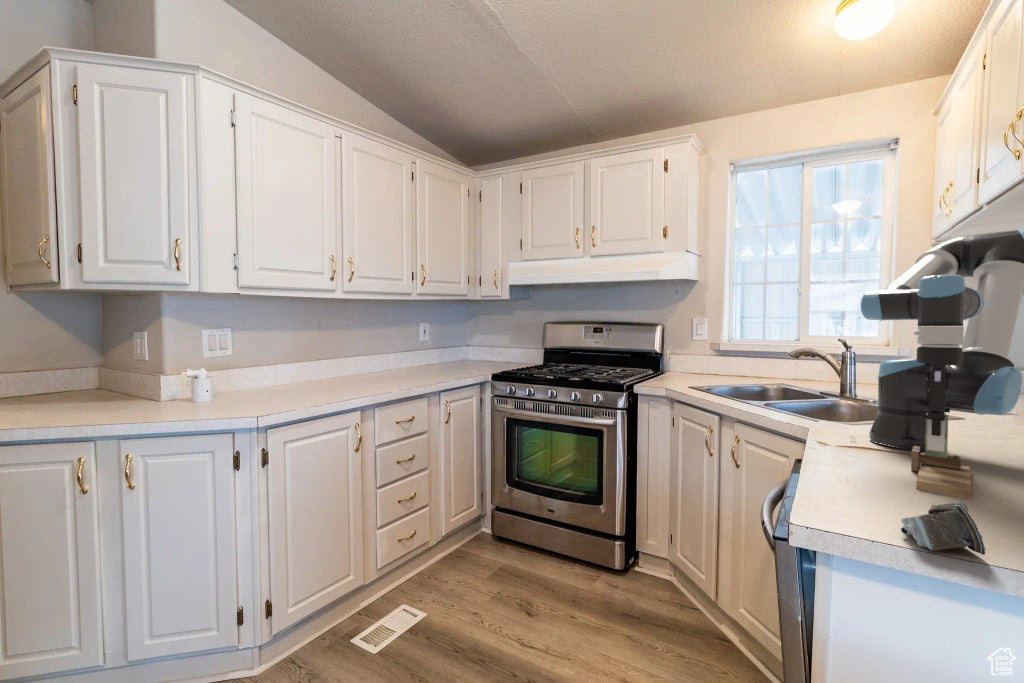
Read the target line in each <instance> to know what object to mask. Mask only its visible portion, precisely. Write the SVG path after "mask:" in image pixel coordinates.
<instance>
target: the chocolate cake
mask: <svg viewBox="0 0 1024 683" xmlns="http://www.w3.org/2000/svg"><path fill="white" fill-rule="evenodd" d="M900 520H901V523H902V524H903V527H901V528H900V531H901V532H902V533H903V534H906V535H911V536H912V537H913V538H914V539H915V541H916V543H917V545H918V546H919V547H925V548H928V549H929V550H931V551H932V552H936V551H942V550H951V549H958V548H966V547H967V548H968V549H969V550H971V551H972V552H975V553H979V554H980V555H982V556H984V555H986V547H985V543H984V541H983V538H984V537H983V536H982V535H981V533H980V531H979V528H978V525H977V524H976V523H975V520H974V519H973V518H972V517H971V514H970V513H969V509H968V507H967V505H966V503H964V502H963V501H961V502H951V503H945V504H942V503H941V504H938V505H937V504H932V505H931V506H930V508H929V509H928V513H927V514H922V515H921V514H920V515H915V516H909V517H906V518H901V519H900Z"/></svg>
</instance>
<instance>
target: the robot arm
mask: <svg viewBox="0 0 1024 683" xmlns="http://www.w3.org/2000/svg"><path fill="white" fill-rule="evenodd" d="M969 277H970V278H971V277H972V278H973V279H974V280H975V281H976V282H977V288H976V290H975V289H973V288H972V287H968V286H966V285H965V278H969ZM1023 292H1024V228H1016V229H1015V230H1014V229H1013V230H1006V231H997V232H996V231H995V232H988V233H978V234H977V233H976V234H968V235H962V236H959V237H958V236H957V237H954V238H951V239H948V240H945V241H944V242H941V243H939V244H937V245H935V246H932V247H931V248H929V249H927V250H926V251H925V252H923V253H922V254H921V255H919V256H918V257H917V259H916V260H915V263H914V265H913V266H912V267H911V268H909V269H908V270H907V271H905V272H904V273H903V274H902V275H901V276H899V277H898V278H897V279H895V281H893V282H892V283H891V284H889V285H888V286H886V288H884V289H883V290H873V291H872V290H871V291H866V292H865V293H863V295H862V297H861V301H860V311H861V315H862V317H864V318H865V319H866V320H869V321H871V320H872V321H880V322H881V321H904V320H905V321H909V320H910V321H913V320H915V321H917V330H914V331H913V335H915V336H917V340H916V341H917V344H918V345H920V346H918V347H917V348H916V358H908V359H907V358H906V359H905V358H904V359H902V358H901V359H890V360H884V361H882V362H881V363H880V365H879V367H878V369H879V370H878V376H877V379H878V385H877V389H878V390H877V391H878V392H877V396H878V397H877V406H878V407H877V413H876V414H877V415H876V416H875V419H874V421H873V424H872V426H871V428H870V430H869V438H870V439H871V440H872V441H874V442H877V443H882V444H886V445H890V446H894V447H898V448H897V449H900V448H903V449H902V450H908V449H913V446H918V447H920V450H921V451H920V452H925V438H926V419H928V436H927V450H934V451H942V452H944V441H945V415H947V413H948V414H949V413H950V412H951V411H953V412H960V413H969V414H976V415H977V414H978V415H981V416H985V415H989V416H1004V415H1006V414H1008V413H1011V411H1012V410H1013V409H1014V408H1015V407H1016V405H1017V403H1018V401H1019V398H1020V395H1021V393H1022V392H1021V391H1022V389H1021V388H1022V386H1023V385H1022V384H1023V375H1022V372H1021V371H1020V369H1019V368H1016V366H1015V363H1014V362H1013V361H1012V359H1010V358H1009V353H1010V348H1011V344H1012V340H1013V336H1014V330H1015V327H1016V322H1017V319H1018V313H1019V310H1020V307H1021V306H1020V305H1021V301H1022V298H1023ZM967 319H968V321H967V325H966V330H965V329H964V320H967ZM964 330H965V333H964ZM960 346H961V347H960ZM927 413H928V415H926V414H927ZM869 438H868V439H869Z"/></svg>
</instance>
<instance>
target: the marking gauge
mask: <svg viewBox="0 0 1024 683" xmlns="http://www.w3.org/2000/svg"><path fill="white" fill-rule="evenodd" d="M926 415H928V413H927V414H926ZM927 436H928V419H926V438H925V451H924V452H923V451H920V447H918V446H913V449H912V450H911V460H910V461H911V466H910V467H911V472H919V469H920V465H921V464H928V465H935V466H942V467H948V468H955V469H961V466H962V464H961V463H962V462H961V461H962V458H961V457H960V456H959V455H953V456H950V455H948V439H949V415H948V414H946V415H945V441H944V452H942V451H934V450H927Z"/></svg>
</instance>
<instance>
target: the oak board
mask: <svg viewBox="0 0 1024 683" xmlns="http://www.w3.org/2000/svg"><path fill="white" fill-rule="evenodd" d="M971 478H972V477H971V467H970V466H966V465H961V469H955V468H948V467H942V466H935V465H928V464H921V463H920V467H919V471H918V473H917V477H916V480H915V481H916V484H915V488H916V489H915V490H921V491H925V492H930V493H936V494H941V495H948V496H953V497H958V498H963V499H969V500H972V494H973V493H972V491H973V490H972V479H971Z"/></svg>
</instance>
